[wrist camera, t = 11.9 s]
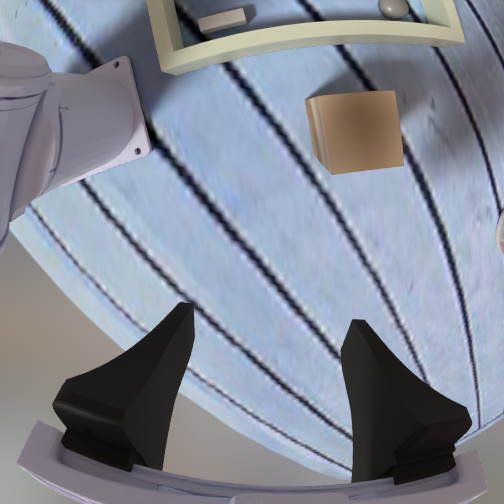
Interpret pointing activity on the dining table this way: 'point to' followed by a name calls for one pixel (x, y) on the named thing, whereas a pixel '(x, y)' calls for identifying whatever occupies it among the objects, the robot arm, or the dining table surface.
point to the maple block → (356, 131)
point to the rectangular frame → (296, 33)
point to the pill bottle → (500, 233)
